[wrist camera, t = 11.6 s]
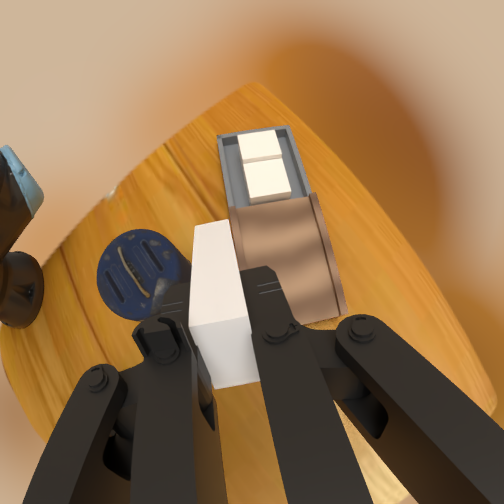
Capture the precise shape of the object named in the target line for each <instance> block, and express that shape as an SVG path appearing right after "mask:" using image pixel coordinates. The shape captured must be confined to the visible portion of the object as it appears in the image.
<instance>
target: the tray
mask: <svg viewBox="0 0 504 504" xmlns="http://www.w3.org/2000/svg"><path fill="white" fill-rule="evenodd" d="M269 130H275V133H276V136H277V139H278V142H279V146H280V149H281V152H282V160H283V164H284V167H285V171H286V174H287V177H288V181H289V184H290V188H291V196H290V199H295V198H302V197H308V196H309V193H312V192H311V188H310V185H309V182H308V179H307V176H306V173H305V170H304V167H303V164H302V161H301V158H300V155H299V152H298V149H297V146H296V143H295V140H294V137H293V134H292V132H291V129H290V126H289V125H285V126H276V127H268V128H261V129H254V130H247V131H241V132H234V133H229V134H223V135H217V142H218V148H219V154H220V160H221V166H222V172H223V178H224V183H225V189H226V195H227V201H228V207H231V206H235V207H236V208H242V207H248V206H250V205H249V200H248V195H247V191H246V186H245V181H244V177H243V172H242V167H241V162H240V158H239V148H238V138H237V135H241V134H248V133H255V132H262V131H269Z"/></svg>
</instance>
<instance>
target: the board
mask: <svg viewBox="0 0 504 504" xmlns="http://www.w3.org/2000/svg"><path fill="white" fill-rule="evenodd" d="M228 208H229V214H230V220H231V225H232V231H233V237H234V242H235V248H236V253H237V259H238V264H239V270H240V271H242V270H246V269H251V268H256V267H261V266H265V265H267V266H268V267H270V268H271V269H272V270H274V271H275V272H276V275H277V277H278V280H279V282H280V284H281V287H282V289H283V292H284V294H285V297H286V299H287V301H288V304H289V306H290V309H291V311H292V314H293V316H294V318H295V319H296V320H297V321H298V322H299V323H300V324H301V325H305V324H309V323H314V322H318V321H322V320H326V319H331V318H335V317H339V316H342V315H345V314H348V310H347V305H346V301H345V297H344V292H343V288H342V284H341V280H340V276H339V272H338V268H337V264H336V260H335V257H334V253H333V249H332V245H331V242H330V238H329V235H328V231H327V228H326V224H325V221H324V217H323V214H322V211H321V207H320V204H319V201H318V198H317V194H316V192H315V193H309V196H308V197H302V198H295V199H289V200H283V201H277V202H271V203H265V204H259V205H253V206H248V207H242V208H236V207H235V206H231V207H228Z"/></svg>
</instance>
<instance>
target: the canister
mask: <svg viewBox="0 0 504 504" xmlns="http://www.w3.org/2000/svg"><path fill="white" fill-rule="evenodd" d="M191 271H192V265H191V263H190V261H189V260H187V259H186V258H185V257H184V256H183V255H182V254H181V253H180V252H179V250H178V249H177V248H176V247H175V246H174V245H173V244H172V243H171V242H170V241H169V240H168V239H167V238H166V237H164V236H163V235H161V234H160V233H158V232H155V231H152V230H147V229H136V230H131V231H128V232H125V233H123V234H121V235H120V236H118V237H117V238H115V239H114V240H113V241H112V242H111V243H110V244H109V245H108V246H107V248H106V249H105V251H104V252H103V254H102V256H101V258H100V261H99V264H98V269H97V286H98V290H99V293H100V295H101V297H102V299H103V301H104V302H105V304H106V305H107V306H108V307H109V309H110V310H111V311H113V312H114V313H115V314H117V315H119V316H121V317H123V318H125V319H129V320H134V321H140V322H142V321H144V320H146V319H147V318H149V317H152V316H155V315H158V314H161V308H162V302H163V297H164V294H165V293H166V291H167V290H168V289H169V287H170V286H172V285H178V284H183V283H188V282H191Z"/></svg>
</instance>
